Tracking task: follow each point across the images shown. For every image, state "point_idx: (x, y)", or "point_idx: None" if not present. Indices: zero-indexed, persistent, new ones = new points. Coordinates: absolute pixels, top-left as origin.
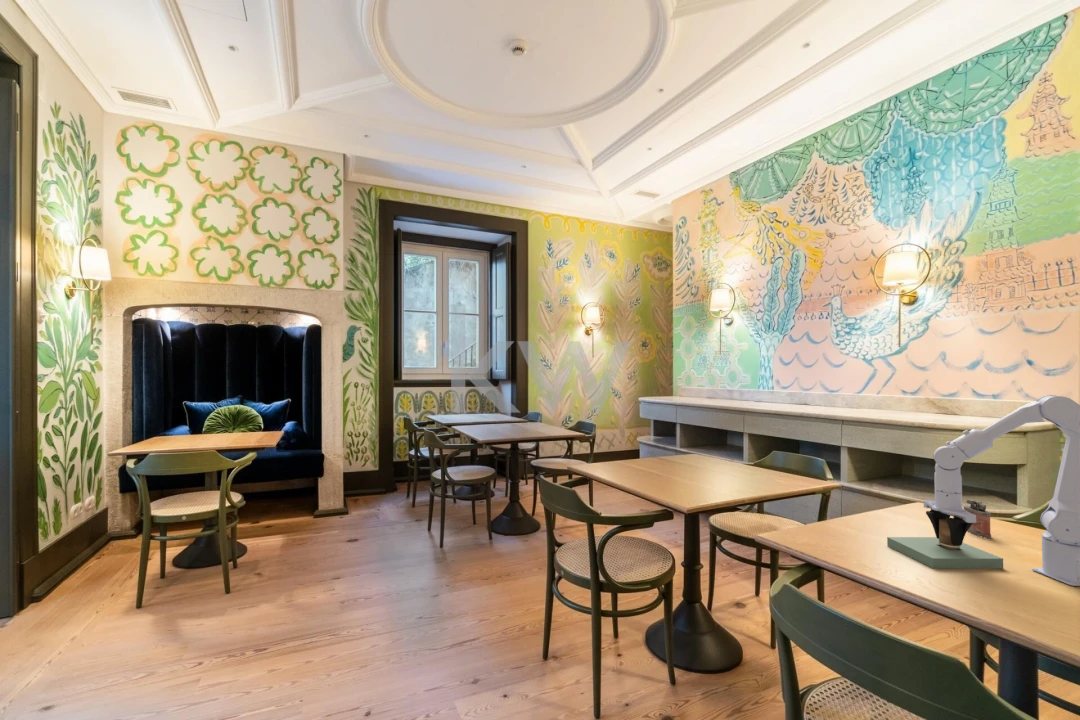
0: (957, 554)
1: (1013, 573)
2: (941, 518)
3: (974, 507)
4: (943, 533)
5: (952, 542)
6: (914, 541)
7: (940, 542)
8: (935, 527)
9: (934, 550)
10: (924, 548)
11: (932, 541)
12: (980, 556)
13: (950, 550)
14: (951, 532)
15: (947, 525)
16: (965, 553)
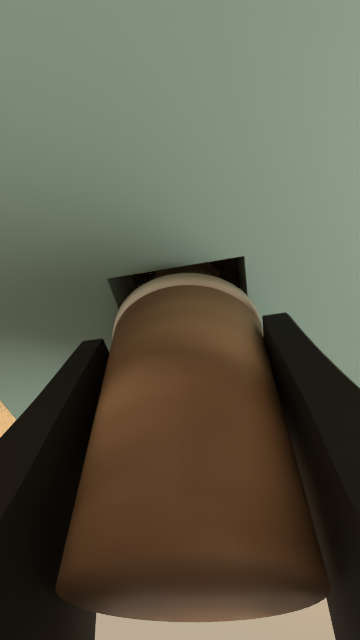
0: (1, 288)
1: (10, 415)
2: (345, 593)
3: None
4: (145, 373)
5: (79, 351)
6: (353, 57)
7: (186, 287)
8: (307, 392)
9: (26, 129)
10: (64, 26)
11: (333, 276)
12: (29, 394)
13: (96, 289)
14: (30, 437)
15: (82, 515)
16: (59, 349)
